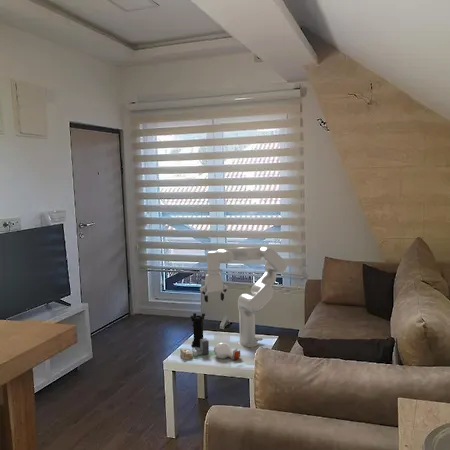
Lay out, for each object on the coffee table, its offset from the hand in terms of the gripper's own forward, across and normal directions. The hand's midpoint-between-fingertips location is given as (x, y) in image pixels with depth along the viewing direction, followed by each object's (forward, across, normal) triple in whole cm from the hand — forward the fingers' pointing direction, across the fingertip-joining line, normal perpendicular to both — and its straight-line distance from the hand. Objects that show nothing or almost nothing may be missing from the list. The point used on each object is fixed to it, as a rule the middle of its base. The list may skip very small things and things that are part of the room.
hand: (214, 301), depth 278 cm
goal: (+29, +19, +5) cm, 35 cm away
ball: (+27, +19, +5) cm, 34 cm away
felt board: (+30, +10, +5) cm, 32 cm away
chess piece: (+31, +7, -11) cm, 33 cm away
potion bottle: (+31, -2, +15) cm, 34 cm away
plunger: (+29, +11, +5) cm, 31 cm away
